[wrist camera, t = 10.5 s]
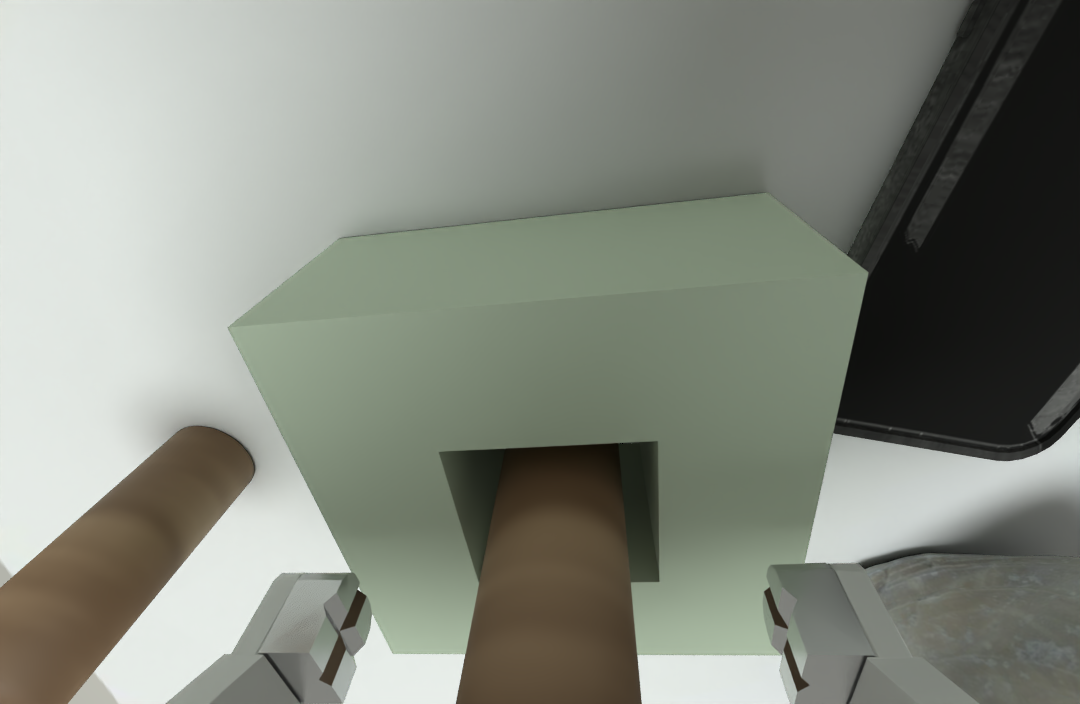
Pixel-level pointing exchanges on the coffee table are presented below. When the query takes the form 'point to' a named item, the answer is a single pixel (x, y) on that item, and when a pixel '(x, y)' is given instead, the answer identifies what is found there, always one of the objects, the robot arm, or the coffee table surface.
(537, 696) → the pin long
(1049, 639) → the decorative stone
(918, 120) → the phone
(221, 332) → the coffee table surface
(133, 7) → the coffee table surface
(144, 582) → the pin medium
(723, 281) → the socket block
